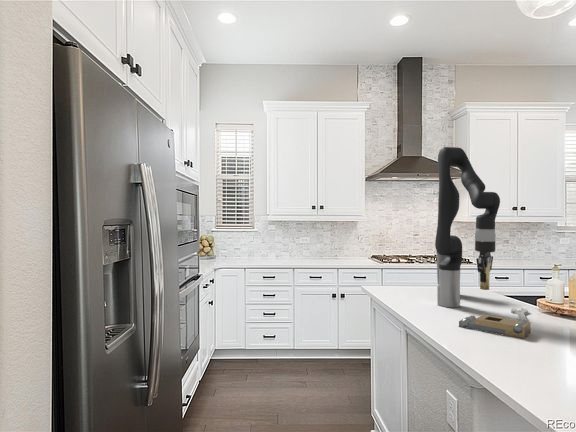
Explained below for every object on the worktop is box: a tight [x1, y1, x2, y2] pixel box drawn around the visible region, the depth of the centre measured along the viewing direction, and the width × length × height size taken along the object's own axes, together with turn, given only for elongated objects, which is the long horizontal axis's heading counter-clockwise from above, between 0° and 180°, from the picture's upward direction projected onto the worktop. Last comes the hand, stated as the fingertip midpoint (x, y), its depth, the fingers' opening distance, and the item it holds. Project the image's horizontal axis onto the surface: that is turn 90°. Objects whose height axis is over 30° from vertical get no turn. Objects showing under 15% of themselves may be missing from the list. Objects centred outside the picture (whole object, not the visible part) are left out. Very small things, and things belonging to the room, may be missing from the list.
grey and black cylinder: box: [436, 231, 454, 285], centre depth 206 cm, size 13×13×35 cm
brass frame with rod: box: [458, 314, 532, 340], centre depth 142 cm, size 22×10×4 cm, turn 46°
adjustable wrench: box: [510, 308, 529, 321], centre depth 160 cm, size 25×6×2 cm, turn 148°
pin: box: [479, 263, 491, 291], centre depth 157 cm, size 3×3×11 cm
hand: (484, 281), depth 157 cm, fingers closed on pin, 3 cm apart
